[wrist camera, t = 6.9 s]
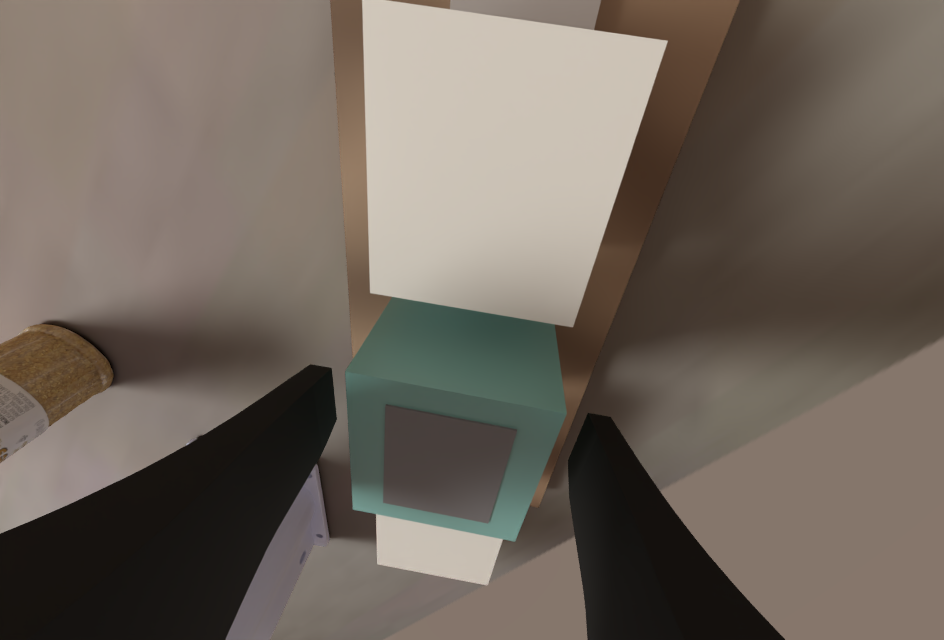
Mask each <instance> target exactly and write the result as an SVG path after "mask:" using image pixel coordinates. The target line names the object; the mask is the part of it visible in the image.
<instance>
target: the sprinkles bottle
mask: <svg viewBox="0 0 944 640" xmlns="http://www.w3.org/2000/svg"><path fill="white" fill-rule="evenodd" d="M112 378H113V371H112V369H111V366H110V364H109V362H108V360H107V359H106V358H105V357H104V356H103V355H102V354H101V353H100V352H99V351H98V350H97V349H96V348H95V347H94V346H93V345H92V344H90V343H89V342H88V341H86V340H85V339H84V338H82V337H81V336H79V335H77V334H76V333H74V332H72V331H70V330H67V329H65V328H62V327H59V326H54V325H47V324H40V325H33V326H30V327H28V328H26V329H24V330H23V331H22V332H21V333H20V334H19V335H18V336H16V337H14V338H12V339H10V340H8V341H6V342H4V343H2V344H0V463H1V462H2V461H4V460H5V459H7V458H8V457H9V456H11V455H12V454H14V453H15V452H17V451H18V450H19V449H21V448H22V447H24V446H25V445H27V444H28V443H29V442H31V441H32V440H34V439H35V438H36V437H38V436H39V435H41V434H42V433H43V432H45V431H46V429H47V428H48V427H49V426H51V425H52V424H53V423H55V422H56V421H58V420H59V419H60V418H62V417H64V416H65V415H67V414H68V413H69V412H70V411H72V410H73V409H74V408H76V407H77V406H78V405H80V404H82V403H84V402H85V401H86V400H88V399H89V398H91V397H92V396H93V395H96V394H99V393H101V392H103V391H104V390H106V389H107V388H108V387H109V386H110V385H111V382H112V380H113V379H112Z"/></svg>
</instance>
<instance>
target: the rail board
mask: <svg viewBox="0 0 944 640" xmlns="http://www.w3.org/2000/svg"><path fill="white" fill-rule="evenodd" d="M388 1H395V2H402V3H409V4H416V5H423V6H430V7H437V8H444V9H450V0H388ZM739 1H740V0H601V3H600V7H599V11H598V15H597V19H596V23H595V28H594V30H596V31H603V32H610V33H617V34H624V35H631V36H638V37H645V38H652V39H659V40H666V41H668V42H667V45H666V48H665V51H664V54H663V57H662V60H661V63H660V66H659V69H658V72H657V75H656V78H655V81H654V84H653V87H652V90H651V93H650V96H649V99H648V102H647V105H646V108H645V111H644V114H643V117H642V120H641V123H640V126H639V129H638V132H637V135H636V139H635V142H634V145H633V148H632V151H631V154H630V157H629V160H628V163H627V166H626V169H625V172H624V175H623V178H622V181H621V184H620V187H619V190H618V193H617V196H616V199H615V202H614V205H613V208H612V211H611V214H610V217H609V220H608V223H607V226H606V229H605V232H604V235H603V238H602V241H601V244H600V247H599V250H598V253H597V256H596V259H595V262H594V265H593V268H592V271H591V274H590V277H589V280H588V283H587V286H586V290H585V293H584V296H583V299H582V302H581V305H580V308H579V311H578V314H577V317H576V320H575V323H574V326H573V327H567V326H562V325H556V324H555V331H556V338H557V346H558V353H559V360H560V368H561V375H562V382H563V389H564V397H565V404H566V411H567V414H566V417H565V419H564V422H563V424H562V427H561V429H560V432H559V434H558V437H557V439H556V442H555V444H554V447H553V449H552V451H551V454H550V456H549V459H548V461H547V464H546V466H545V469H544V471H543V474H542V476H541V479H540V481H539V484H538V486H537V488H536V491H535V493H534V496H533V498H532V501H531V503H530V506H533V507H538V508H539V505H540V503H541V500H542V498H543V495H544V493H545V490H546V488H547V485H548V483H549V480H550V478H551V475H552V473H553V470H554V467H555V465H556V462H557V460H558V457H559V455H560V452H561V450H562V447H563V445H564V442H565V440H566V437H567V435H568V432H569V430H570V427H571V425H572V422H573V420H574V417H575V415H576V412H577V410H578V407H579V405H580V402H581V399H582V397H583V394H584V392H585V389H586V387H587V384H588V382H589V379H590V377H591V374H592V372H593V369H594V367H595V364H596V362H597V359H598V357H599V354H600V352H601V349H602V347H603V344H604V342H605V339H606V337H607V334H608V331H609V329H610V326H611V324H612V321H613V319H614V316H615V314H616V311H617V309H618V306H619V304H620V301H621V299H622V296H623V294H624V291H625V289H626V286H627V284H628V281H629V279H630V276H631V274H632V271H633V268H634V266H635V263H636V261H637V258H638V256H639V253H640V251H641V248H642V246H643V243H644V241H645V238H646V236H647V233H648V231H649V228H650V226H651V223H652V221H653V218H654V216H655V213H656V211H657V208H658V206H659V203H660V200H661V198H662V195H663V193H664V190H665V188H666V185H667V183H668V180H669V178H670V175H671V173H672V170H673V168H674V165H675V163H676V160H677V158H678V155H679V153H680V150H681V148H682V145H683V143H684V140H685V137H686V135H687V132H688V130H689V127H690V125H691V122H692V120H693V117H694V115H695V112H696V110H697V107H698V105H699V102H700V100H701V97H702V95H703V92H704V90H705V87H706V85H707V82H708V80H709V77H710V75H711V72H712V69H713V67H714V64H715V62H716V59H717V57H718V54H719V52H720V49H721V47H722V44H723V42H724V39H725V37H726V34H727V32H728V29H729V27H730V24H731V22H732V19H733V17H734V14H735V12H736V9H737V6H738V4H739ZM330 4H331V20H332V36H333V52H334V67H335V83H336V99H337V115H338V131H339V147H340V163H341V179H342V195H343V211H344V227H345V243H346V259H347V275H348V291H349V307H350V323H351V339H352V355H353V358H354V357H355V355H356V354H357V352H358V350H359V349H360V347H361V346H362V344H363V343H364V341H365V339H366V338H367V336H368V335H369V333H370V331H371V330H372V328H373V327H374V325H375V324H376V322H377V320H378V319H379V317H380V316H381V314H382V312H383V311H384V309H385V308H386V306H387V305H388V303H389V301H390V300H391V298H392V297H391V296H385V295H379V294H373V293H370V273H369V236H368V199H367V162H366V125H365V87H364V50H363V13H362V0H330Z"/></svg>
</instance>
